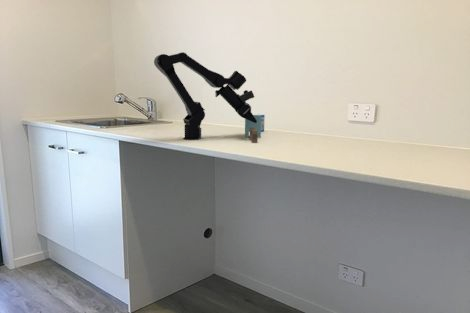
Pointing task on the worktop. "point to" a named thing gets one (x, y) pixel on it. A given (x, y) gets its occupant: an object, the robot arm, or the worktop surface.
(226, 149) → the worktop surface
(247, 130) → the teal plate
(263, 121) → the medicine box
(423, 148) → the worktop surface
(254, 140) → the brown stepped bar
